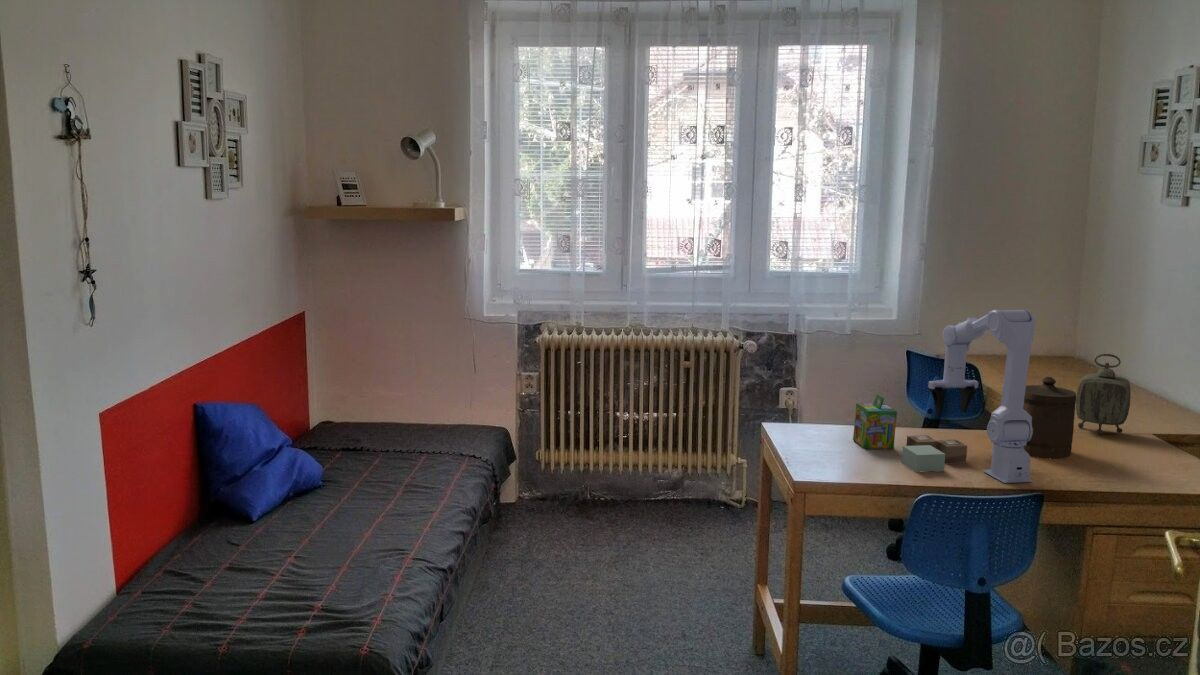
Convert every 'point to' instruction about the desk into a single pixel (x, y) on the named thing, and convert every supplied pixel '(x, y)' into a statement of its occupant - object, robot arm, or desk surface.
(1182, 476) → the desk surface
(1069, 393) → the wooden container
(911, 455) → the sage block
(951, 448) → the walnut block
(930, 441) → the walnut block
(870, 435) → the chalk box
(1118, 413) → the tabletop clock
